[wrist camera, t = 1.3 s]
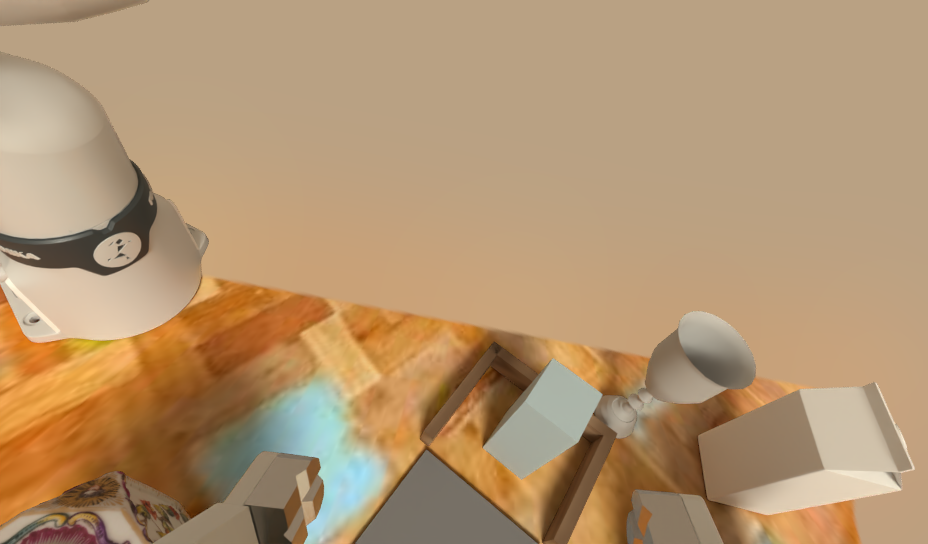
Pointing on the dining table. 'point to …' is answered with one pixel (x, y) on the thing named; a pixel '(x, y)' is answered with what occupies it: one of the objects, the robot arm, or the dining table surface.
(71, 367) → the dining table surface
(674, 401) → the chalice
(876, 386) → the milk carton
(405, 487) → the dark grey flat plate
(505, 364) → the wooden rectangular frame
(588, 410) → the block
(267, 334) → the dining table surface
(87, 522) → the decorative jar
